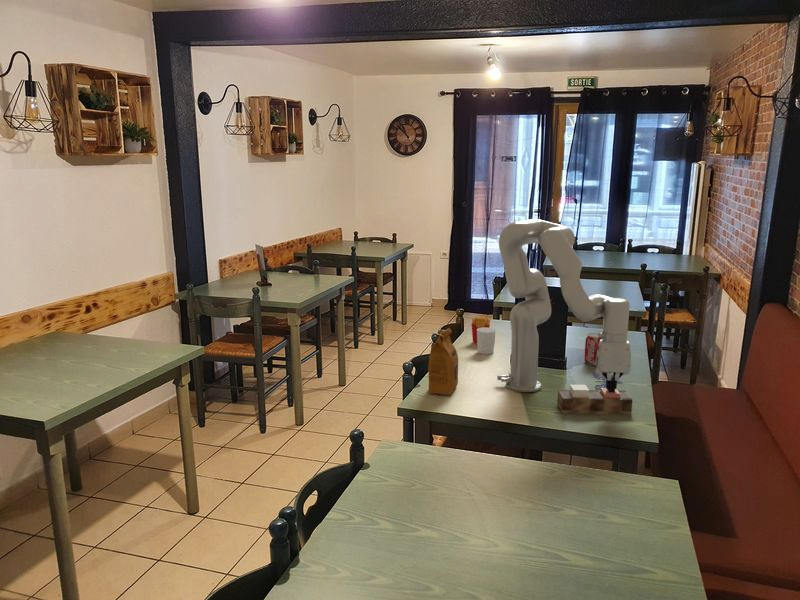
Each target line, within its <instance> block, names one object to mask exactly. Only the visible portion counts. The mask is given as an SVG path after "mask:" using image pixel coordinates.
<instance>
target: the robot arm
mask: <svg viewBox="0 0 800 600" xmlns="http://www.w3.org/2000/svg"><path fill="white" fill-rule="evenodd" d="M498 237H499V238H498V248H499V253H500V256H501V259H502V265H503V269H504V274H505V278H506V285H507V288H508V292H509V294H510V295H511V296H512V297H514V298H515V299H522V298H524V299H525V300H523V301H520V302H518V303H517V304H515V305H514V306H513V307H512V309H511V311H510V314H509V321H510V326H511V327H510V330H511V344H510V345H511V353H510V371H508V373H507V374H497V375H496V376H497V379H496V381H497V380H498V381H501V383H503V382H504V383H505V386H506V388H507V389H509V390H511V391H514V392H519V393H533V392H537V391H540V390H541V388H542V383H541V382H540V380H539V381H538V370H539V369H538V366H539V345H540V344H539V343H540V340H539V337H540V336H539V332H538V329H537V326H539V325H541V324H543V323H545V322H547V321H548V320H549V319H550V318H551V315H552V304H551V303H552V302H551V299H550V293H549V290H548V289H549V288H548V284H547V280H546V277H545V275H544V274H543V273H542V271H540V269H537V268H533V267H532V268H531V267H530V266H529V261H528V256H527V254H526V252H525V250H524V249H523V246H524V245H530V244H539V246H540V247H541V249H542V251H543V253H544V254H545V256H546V257H547V259H548V260H549V262H550V264H551V266H552V267H553V269H554V270H555V273H557V275H558V277H559V285H560V289H561V295H562V296H563V299H564V301H565V303H566V305H567V306H568V307H569V310H570V311H571V313H572V314H573V315H574V316H575V317H576V318H577V319H578V320H580V321H582V322H590V321H594V320H595V319H598V318H602V317H603V319H602V320H603V322H602V330H601V332H598V333H597V334H598V337H600V338H602V339H601V340H600V342H599V346H598V350H597V356H596V366H595V367H596V368H595V370H594V373H596V374H599V376H604V377H605V378H606V379H605V380H606V389H607V390H608V391H609V392H615V389H617V386H618V383H617V381H620V380H619V379H620V378H621V377H623V376H626V375H630V371H631V366H632V355H631V353H632V352H631V344H630V341H629V340H628V332H629V318H630V302H629V301H628V300H627V299H625V298H621V297H610V296H607V295H604V294H599V293H595V294H594V293H593V294H591V295H587V293H586V291H585V289H584V287H583V285H582V283H581V278H580V277H581V276H580V275H581V272H582V268H583V262H582V261H581V259H580V258H579V256H578V255H577V253H576V252H575V251H576V250H575V249H574V248H573V246H574V244H575V242H576V236H575V232H573V230H572V229H571V228H570V227H568V226H565V225H563V224H558V223H554V222H550V221H547V220H542V219H539V218H538V219H537V218H529V219H522V220H517V221H516V220H515V221H512V222H511V223H509V224H507V225H506V226H505V227H504V228H503V229H502V230H501V232H500V235H499V236H498ZM611 375H613V376H612V378H611Z"/></svg>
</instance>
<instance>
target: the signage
mask: <svg viewBox="0 0 800 600" xmlns="http://www.w3.org/2000/svg"><path fill="white" fill-rule="evenodd" d="M612 376H613V374H611V378H612ZM593 377H594V379H596V378H598V377H599V378H598V379H596V380H599V379H600V378H602V379H605V377H604V376H603V375H601V376H600V374H596V372H594V375H593ZM605 380H606V379H605ZM605 380H604V382H603V383H600V384H601V385H596V384H595V386H594V389H595V388H596V389H595V390H600V388H606V381H605ZM604 383H605V384H604ZM620 383H622V381H621V380H618V381H617V384H620ZM622 384H623V383H622ZM598 386H604V387H598Z"/></svg>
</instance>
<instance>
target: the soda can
mask: <svg viewBox="0 0 800 600" xmlns="http://www.w3.org/2000/svg"><path fill="white" fill-rule="evenodd" d="M601 339H602V338H600V337H598V333H597V332H596V333H593V332H591V333H588V334H587V336H586V338H585V342H584V357H583V358H584V363H585V364H587V366H592V365H594V366H595V367H596V356H597V350H598V346H599V342H600V340H601Z"/></svg>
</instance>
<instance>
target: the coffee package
mask: <svg viewBox="0 0 800 600" xmlns="http://www.w3.org/2000/svg"><path fill="white" fill-rule="evenodd" d="M452 332H453V331H452V329H451V328H450V327H447V329H445V330H442V331H441V332H439V334H438V335H439V336H438V338H437V339H436V341H435V342H434V344H433V345H432V346H431V349H430V352H429V359H428V367H427V370H428V390H427V391H428V394H431V395H435V394H436V395H438V394H439V395H443V396H444V395H445V396H448V395H449V396H451V394H452V393H453V392H454V390H456V388H457V386H458V384H459V355H458V351H457V350H456V347H455V346H454V344H453V343H452V339H451V336H450V335H451V334H453V333H452Z"/></svg>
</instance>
